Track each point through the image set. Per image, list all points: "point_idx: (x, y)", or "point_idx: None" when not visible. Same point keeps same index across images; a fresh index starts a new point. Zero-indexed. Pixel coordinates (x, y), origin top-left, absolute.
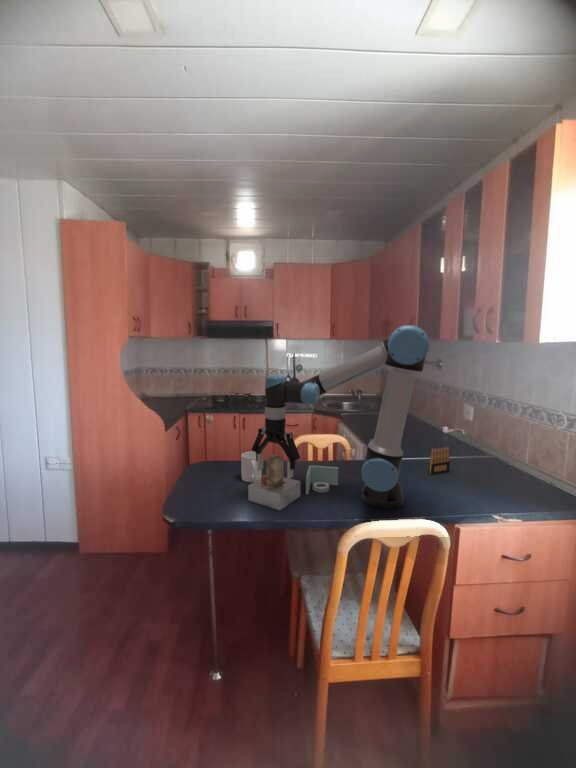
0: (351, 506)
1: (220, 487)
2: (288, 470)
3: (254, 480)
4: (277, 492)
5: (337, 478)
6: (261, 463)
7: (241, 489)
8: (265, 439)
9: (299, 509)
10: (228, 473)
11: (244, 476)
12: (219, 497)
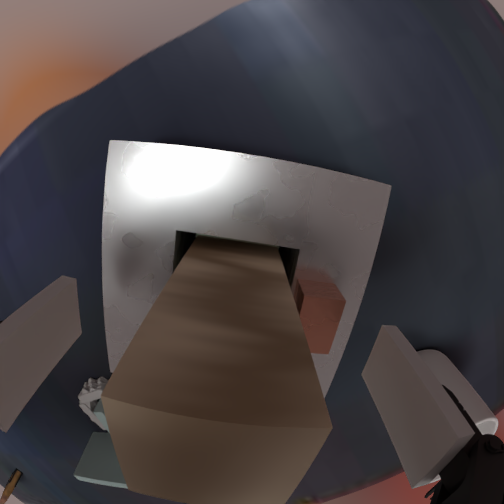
0: None
1: (494, 254)
2: (26, 310)
3: None
4: (133, 155)
5: (86, 448)
6: (391, 391)
7: (425, 277)
8: None
9: (78, 204)
10: (485, 366)
11: (442, 359)
12: (470, 163)
